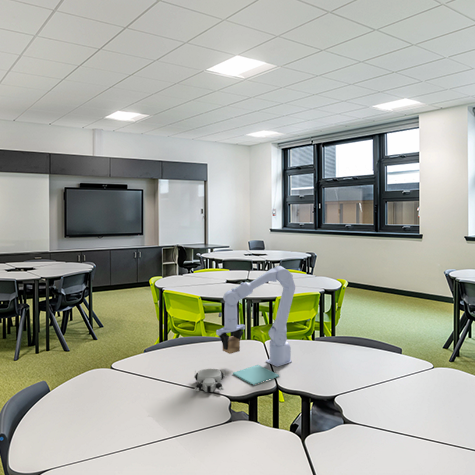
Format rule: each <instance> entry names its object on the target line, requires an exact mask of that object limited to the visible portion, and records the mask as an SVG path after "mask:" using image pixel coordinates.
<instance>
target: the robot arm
mask: <svg viewBox="0 0 475 475" xmlns="http://www.w3.org/2000/svg"><path fill="white" fill-rule="evenodd" d="M277 281H278V283H279V284H280V286H281V287H282V292H281V296H280V300H279V304H278V309H277V312H276V317H275V320H274V321H273V323H272V326H271V327H270V329H269V330H268V336H269V338H270V340H269V359H265V362H266V363H268V364H271V365H273V367H274V366H275V367H276V368H277V367H280V366H284V365H287V364H289V363H292V359H291V353H292V351H291V345H290V343H289V342H288V341H287V340H288V338H287V330H288V329H287V322H288V319H289V314H290V311H291V306H292V304H293V298H294V294H295V291H296V284H295V282H294V278H293V274H292V273H291V272H290V270H288V269H286V268H284V266H281V265H277V266H275V267H272V268H270V269H268V271H266V272H264V273H263V274H261V275H259V276H258V277H256V278H255V279H254V280H251V281H250V282H247V281H245V282H243V281H242V282H240V284H239V285H238V286H236V287H235V288H233V287H232V288H231V290H227V291H225V293H224V294H223V298H222V299H223V301H224V309H223V310H224V312H223V313H224V327H222V328H219V329H216V331H215V332H216V335H217V336H218V337H219V338H220V340H221V343H222V349H223V348H224V349H225V350H227V349H228V339H229V337H230V336H229V335H228V334H229V333H233V337H236V338H238V339H240V340H241V338H242V336H243V335H244V330H245V329H246V325H245V324H243V323H241V324H238V302H239V301H241V300H243V299H244V298H247V297H248V296H250V295H251V294H253V292H254V290H255V289H256V288H259V287H260V286H263V285H264V284H266V283H268V282H274V283H277Z"/></svg>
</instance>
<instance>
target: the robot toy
mask: <svg viewBox="0 0 475 475" xmlns="http://www.w3.org/2000/svg"><path fill="white" fill-rule="evenodd" d="M194 373H195V374H194V377H193V378H194V379H195V381H197V382H198V383H196V384H197V385H195V387H194V391H196V392H199V391H200V390H201V389H202V391H204V392H205V393H213V392H214V391H215V390H216V389H217V390H219V391H223V390H225V389H224V387H223V385H222V383H221V382H222V381H223V380H224V378H225V373H224V372H222V371H221V370H220V369H216V368H205V369H200V370H198V372H196V369H194Z"/></svg>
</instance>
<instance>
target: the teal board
mask: <svg viewBox="0 0 475 475" xmlns="http://www.w3.org/2000/svg"><path fill="white" fill-rule="evenodd" d="M232 375H233V376H235V377H236V376H237V377H236V378H238V377H239V379H240V378H241V379H240V380H242V381H243V382H245V381H246V382H245V383H247V382H248V383H247V384H249V383H250V384H249V385H251V384H253V385H255V384H258V383H261V382H263V381H266V380H269V379H272V380H274V379H273V378H275V379H277V378H276V377H278V378H280V374H277V373H276V372H274V371H272V370H270V369H268V368H266V367H264V366H261V365H259V364H256V365H253V366H250V367H247V368H243V369H240V370H237V371H234V372H232ZM269 381H270V380H269ZM266 382H267V381H266ZM261 384H262V383H261ZM253 385H252V386H253ZM258 385H259V384H258ZM255 386H256V385H255Z"/></svg>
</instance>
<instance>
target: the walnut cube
mask: <svg viewBox="0 0 475 475" xmlns="http://www.w3.org/2000/svg"><path fill="white" fill-rule="evenodd" d="M240 342H241V339H238V338H236V337H234V335H232V336H229V339H228V349H227V350H225V349H224V348H223V347H222V351H223V352H225V353H227V354H228V355H232V354H234V353H238V352H240V350H241V349H240V348H241V346H240Z"/></svg>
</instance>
